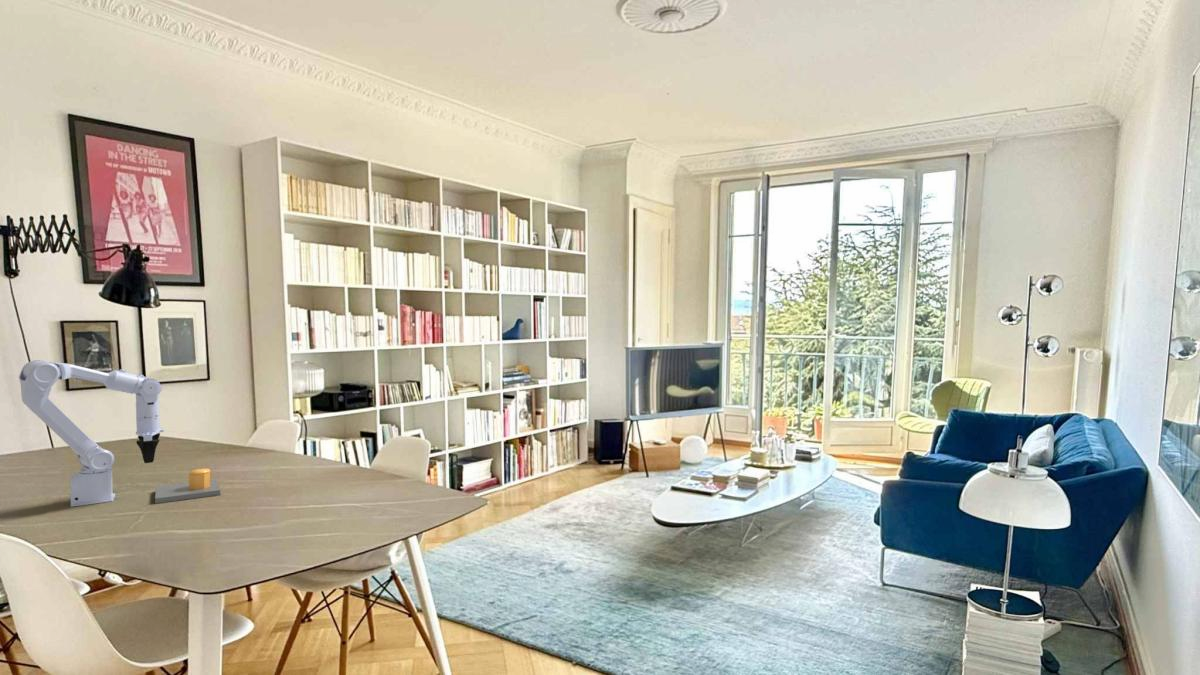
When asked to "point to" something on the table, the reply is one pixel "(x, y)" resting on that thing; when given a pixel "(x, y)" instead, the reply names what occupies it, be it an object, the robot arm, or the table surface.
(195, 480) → the orange acorn nut
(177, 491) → the plate
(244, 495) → the table surface
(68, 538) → the table surface
